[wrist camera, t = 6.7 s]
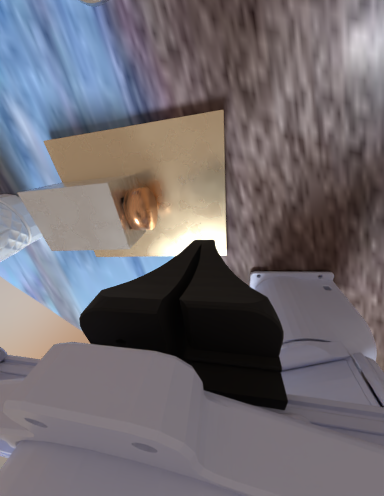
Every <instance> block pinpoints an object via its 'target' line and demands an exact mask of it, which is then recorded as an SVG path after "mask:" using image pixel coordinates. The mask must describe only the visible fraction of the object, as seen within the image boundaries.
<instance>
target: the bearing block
mask: <svg viewBox="0 0 384 496" xmlns="http://www.w3.org/2000/svg"><path fill="white" fill-rule="evenodd" d="M44 144H45V146H46V148H47V150H48V152H49V154H50V157H51V159H52V161H53V163H54V165H55V168H56V170H57V172H58V174H59V176H60V178H61V181H62V183H58V184H53V185H49V186H44V187H40V188H35V189H31V190H26V191H22V192H17V193H18V195H19V197H20V198H21V200H22V202H23V203H24V205H25V207H26V208H27V210H28V212H29V213H30V215H31V217H32V218H33V220H34V222H35V223H36V225H37V227H38V228H39V230H40V232H41V233H42V235H43V237H44V238H45V240H46V242H47V243H48V245H49V247H50V248H51V250H52V251H71V250H94V252H95V254H96V257H131V256H176V255H178V254H179V253H180V252H181V251H182V250H184V249H185V248H186V247H187V246H188V245H189V244H190V243H191V242H192V241H194V240H210V239H213V240H214V241H215V245H216V248H217V250H218V252H219V254H220V255H227V252H226V203H225V154H224V110H218V111H212V112H206V113H201V114H195V115H189V116H184V117H178V118H172V119H167V120H161V121H155V122H149V123H144V124H138V125H132V126H127V127H121V128H115V129H110V130H104V131H98V132H92V133H87V134H81V135H75V136H70V137H64V138H58V139H52V140H47V141H44ZM143 187H147V188H149V189H150V190H151V191H152V192H153V194H154V197H155V200H156V203H157V210H158V218H157V223H156V226H155V228H154V229H152V230H134V229H132V228H131V227H130V225H129V224H128V222H127V220H126V217H125V213H124V209H123V206H122V203H121V199H124V196H125V194H126V192H127V190H129V189H133V188H143Z"/></svg>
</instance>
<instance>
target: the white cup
mask: <svg viewBox="0 0 384 496" xmlns="http://www.w3.org/2000/svg"><path fill="white" fill-rule="evenodd" d="M42 237H43V235H42V233H41V232H40V230H39V228H38V227H37V225H36V223H35V222H34V220H33V218H32V217H31V215H30V213H29V212H28V210H27V208H26V207H25V205H24V203H23V202H22V200H21V198H20V197H18V196H17V195H11V194H1V195H0V262H2V261H4V260H5V259H7V258H8V257H10V256H12V255H14V254H16V253H17V252H19V251H20V250H22V249H23V248H24V247H26V246H28V245H29V244H31V243H33V242H35V241H37V240H38V239H40V238H42Z"/></svg>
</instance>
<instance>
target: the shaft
mask: <svg viewBox="0 0 384 496" xmlns="http://www.w3.org/2000/svg"><path fill="white" fill-rule="evenodd" d="M121 203H122V206H123V209H124V213H125V217H126V220H127V222H128V224H129V225H130V227H131V228H132V229H134V230H152V229H154V228H155V226H156V223H157V218H158V210H157V203H156V200H155V197H154V194H153V192H152V191H151V190H150V189H149V188H147V187H143V188H133V189H129V190H127V192H126V194H125V196H124V199H121Z"/></svg>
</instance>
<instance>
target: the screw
mask: <svg viewBox="0 0 384 496" xmlns="http://www.w3.org/2000/svg"><path fill="white" fill-rule="evenodd" d="M79 1H80V2H82V3H84V4H86V5H88V6H95V7H97V6H100V5H103V4H105V3H106V2H108V1H109V0H79Z"/></svg>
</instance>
